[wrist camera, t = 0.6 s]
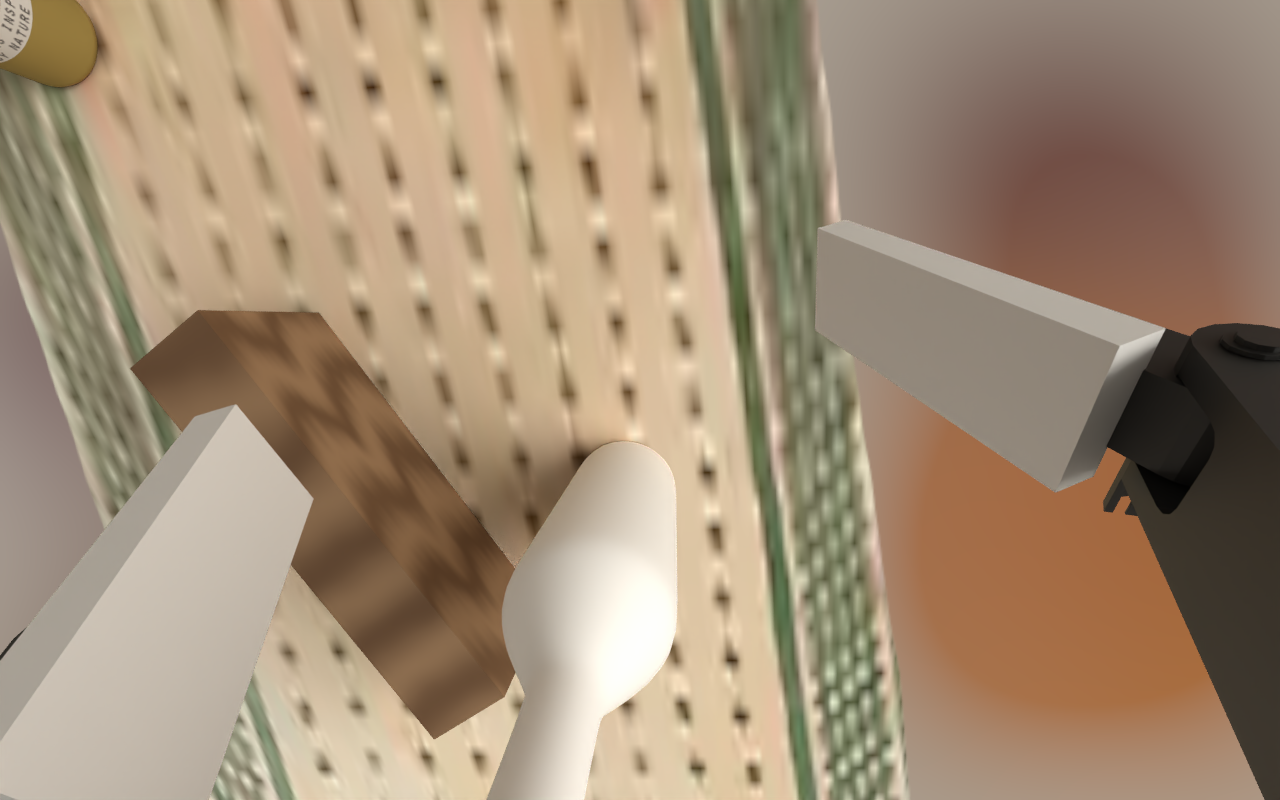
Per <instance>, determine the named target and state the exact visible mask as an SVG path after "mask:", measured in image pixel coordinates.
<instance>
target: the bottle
mask: <svg viewBox="0 0 1280 800" xmlns="http://www.w3.org/2000/svg"><path fill="white" fill-rule="evenodd" d="M676 619H677V531H676V487H675V481H674V477H673V474H672V471H671V469H670V468H669V466H668V464H667V463H666V461H665V460H664V459H663V458H662V457H661V456H660V455H659V454H658V453H657V452H655V451H654V450H652V449H651V448H649V447H647V446H645V445H643V444H640V443H636V442H630V441H619V442H612V443H609V444H606V445H603V446H601V447H600V448H598V449H596V450H595V451H593V452H592V453H591V454H590V455H589V456H588V457H587V458H586V459H585V461H584V462H583V463H582V465H581V466H580V468H579V469H578V471H577V472H576V474H575V475H574V477H573V478H572V480H571V481H570V483H569V485H568V486H567V488H566V489H565V491H564V492H563V494H562V496H561V497H560V499H559V500H558V502H557V503H556V505H555V506H554V508H553V510H552V511H551V513H550V514H549V516H548V517H547V519H546V521H545V522H544V524H543V525H542V527H541V528H540V530H539V531H538V533H537V535H536V536H535V538H534V539H533V541H532V542H531V544H530V546H529V547H528V549H527V550H526V552H525V553H524V555H523V556H522V558H521V560H520V561H519V563H518V565H517V567H516V568H515V570H514V572H513V574H512V576H511V579H510V581H509V583H508V585H507V588H506V592H505V596H504V601H503V606H502V629H503V635H504V640H505V644H506V648H507V651H508V655H509V657H510V660H511V662H512V665H513V667H514V670H515V672H516V674H517V677H518V679H519V681H520V684H521V686H522V688H523V691H524V693H525V697H524V700H523V703H522V706H521V709H520V712H519V715H518V718H517V721H516V723H515V726H514V729H513V731H512V734H511V737H510V740H509V742H508V745H507V748H506V750H505V753H504V755H503V758H502V761H501V763H500V766H499V768H498V771H497V774H496V776H495V779H494V781H493V784H492V787H491V789H490V792H489V794H488V797H487V800H584V798H585V793H586V787H587V782H588V777H589V772H590V767H591V762H592V757H593V752H594V747H595V743H596V738H597V733H598V729H599V725H600V722H601V719H602V717H604V716H605V715H606V714H608V713H609V712H611V711H612V710H614V709H615V708H617V707H618V706H620V705H621V704H623V703H624V702H626V701H627V700H628V699H630V698H631V697H632V696H634V695H635V694H636V693H637V692H639V691H640V690H641V689H642V688H643V687H645V686H646V685H647V684H648V683H649V682H650V681H651V679H652V678H653V677H654V676H655V675H656V673H657V672H658V671H659V670H660V669H661V667H662V666H663V664H664V662H665V660H666V658H667V657H668V655H669V653H670V649H671V646H672V642H673V639H674V635H675V631H676Z"/></svg>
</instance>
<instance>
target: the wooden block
mask: <svg viewBox="0 0 1280 800" xmlns="http://www.w3.org/2000/svg"><path fill="white" fill-rule="evenodd" d="M130 369H131V370H132V371H133V373H134V374H135V375H136V376H137V377H138V379H139V380H140V381H141V382H142V384H143V385H144V386H145V387H146V388H147V390H148V391H149V392H150V393H151V395H152V396H153V397H154V398H155V399H156V401H157V402H158V403H159V404H160V406H161V407H162V408H163V409H164V410H165V412H166V413H167V414H168V415H169V417H170V418H171V419H172V420H173V421H174V423H175V424H176V425H177V426H178V428H179V429H180V430H181V431H182V432H183V431H184V429H185V428H186V427H187V426H188V424H189V423H190V422H191V421H192V419H193V418H194V417H195V416H198V415H201V414H204V413H208V412H211V411H214V410H218V409H221V408H224V407H228V406H231V405H234V404H236V405H237V406H238V407H239V408H240V410H241V411H242V412H243V413H244V414H245V416H246V417H247V418H248V419H249V421H250V422H251V423H252V424H253V425H254V427H255V428H256V429H257V430H258V432H259V433H260V434H261V435H262V436H263V438H264V439H265V440H266V441H267V442H268V444H269V445H270V446H271V447H272V449H273V450H274V451H275V452H276V453H277V455H278V456H279V457H280V458H281V460H282V461H283V462H284V463H285V464H286V466H287V467H288V468H289V469H290V470H291V472H292V473H293V474H294V475H295V477H296V478H297V479H298V480H299V481H300V483H301V484H302V485H303V486H304V488H305V489H306V490H307V491H308V492H309V494H310V495H311V496H312V497H313V498H314V499H313V502H312V505H311V508H310V510H309V513H308V516H307V519H306V522H305V525H304V528H303V530H302V533H301V536H300V539H299V542H298V545H297V548H296V551H295V553H294V556H293V559H292V562H291V565H292V567H293V568H294V569H295V570H296V571H297V573H298V574H299V575H300V576H301V578H302V579H303V580H304V581H305V582H306V584H307V585H308V586H309V587H310V589H311V590H312V591H313V592H314V593H315V595H316V596H317V597H318V598H319V600H320V601H321V602H322V603H323V604H324V606H325V607H326V608H327V609H328V610H329V612H330V613H331V614H332V615H333V617H334V618H335V619H336V620H337V621H338V623H339V624H340V625H341V626H342V628H343V629H344V630H345V631H346V632H347V634H348V635H349V636H350V637H351V639H352V640H353V641H354V642H355V643H356V645H357V646H358V647H359V648H360V650H361V651H362V652H363V653H364V654H365V656H366V657H367V658H368V659H369V660H370V662H371V663H372V664H373V665H374V667H375V668H376V669H377V670H378V671H379V673H380V674H381V675H382V676H383V678H384V679H385V680H386V681H387V682H388V684H389V685H390V686H391V687H392V689H393V690H394V691H395V692H396V693H397V695H398V696H399V697H400V698H401V700H402V701H403V702H404V703H405V704H406V706H407V707H408V708H409V709H410V711H411V712H412V713H413V714H414V715H415V717H416V718H417V719H418V720H419V721H420V723H421V724H422V725H423V726H424V728H425V729H426V730H427V731H428V732H429V734H430V735H431V736H432V737H433V739H436V738H438V737H439V736H441V735H443V734H444V733H446V732H447V731H449V730H451V729H452V728H454V727H456V726H457V725H459V724H461V723H462V722H464V721H466V720H467V719H469V718H470V717H472V716H474V715H475V714H477V713H479V712H480V711H482V710H484V709H485V708H487V707H489V706H490V705H492V704H494V703H495V702H497V701H498V700H500V699H502V698H503V697H505V695H506V692H507V690H508V688H509V686H510V683H511V681H512V679H513V677H514V675H515V670H514V667H513V665H512V662H511V660H510V657H509V655H508V651H507V648H506V644H505V640H504V635H503V629H502V606H503V601H504V596H505V592H506V588H507V585H508V583H509V581H510V579H511V576H512V574H513V572H514V570H515V568H514V567H513V566H512V564H511V563H510V562H509V560H508V559H507V558H506V556H505V555H504V554H503V552H502V551H501V550H500V549H499V547H498V546H497V545H496V543H495V542H494V541H493V539H492V538H491V537H490V536H489V534H488V533H487V532H486V530H485V529H484V528H483V526H482V525H481V524H480V522H479V521H478V520H477V519H476V517H475V516H474V515H473V513H472V512H471V511H470V509H469V508H468V507H467V506H466V504H465V503H464V502H463V500H462V499H461V498H460V496H459V495H458V494H457V492H456V491H455V490H454V489H453V487H452V486H451V485H450V483H449V482H448V481H447V479H446V478H445V477H444V476H443V474H442V473H441V472H440V470H439V469H438V468H437V466H436V465H435V464H434V462H433V461H432V460H431V459H430V457H429V456H428V455H427V453H426V452H425V451H424V449H423V448H422V447H421V446H420V444H419V443H418V442H417V440H416V439H415V438H414V436H413V435H412V434H411V432H410V431H409V430H408V429H407V427H406V426H405V425H404V423H403V422H402V421H401V419H400V418H399V417H398V416H397V414H396V413H395V412H394V410H393V409H392V408H391V406H390V405H389V404H388V402H387V401H386V400H385V399H384V397H383V396H382V395H381V393H380V392H379V391H378V389H377V388H376V387H375V386H374V384H373V383H372V382H371V380H370V379H369V378H368V376H367V375H366V374H365V372H364V371H363V370H362V369H361V367H360V366H359V365H358V363H357V362H356V361H355V359H354V358H353V357H352V356H351V354H350V353H349V352H348V350H347V349H346V348H345V346H344V345H343V344H342V342H341V341H340V340H339V339H338V337H337V336H336V335H335V333H334V332H333V331H332V329H331V328H330V327H329V326H328V324H327V323H326V322H325V320H324V319H323V318H322V316H321V315H320V314H319V313H306V312H256V311H206V310H198V311H196V312H195V313H194V314H193V315H192V316H191V317H189V318H188V319H187V320H186V321H185V322H184V323H182V324H181V325H180V326H179V327H178V328H177V329H175V330H174V331H173V332H172V333H171V334H170V335H169V336H167V337H166V338H165V339H164V340H163V341H162V342H160V343H159V344H158V345H157V346H156V347H155V348H153V349H152V350H151V351H150V352H149V353H148V354H146V355H145V356H144V357H143V358H142V359H141V360H139V361H138V362H137V363H136V364H135V365H134V366H132V367H131V368H130Z"/></svg>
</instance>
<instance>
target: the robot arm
mask: <svg viewBox="0 0 1280 800" xmlns="http://www.w3.org/2000/svg"><path fill="white" fill-rule="evenodd" d="M815 330H816V331H817V332H819V333H820V334H822V335H823V336H825V337H826V338H828V339H829V340H831V341H832V342H833V343H835V344H836V345H838V346H839V347H841V348H842V349H844V350H845V351H847V352H848V353H850V354H851V355H853V356H854V357H856V358H857V359H859V360H860V361H862V362H863V363H865V364H866V365H868V366H869V367H871V368H872V369H873V370H875V371H876V372H878V373H879V374H881V375H882V376H884V377H885V378H887V379H888V380H890V381H891V382H893V383H894V384H896V385H897V386H899V387H900V388H902V389H903V390H905V391H906V392H908V393H909V394H911V395H912V396H913V397H915V398H916V399H918V400H919V401H921V402H922V403H924V404H926V405H927V406H928V407H930V408H931V409H933V410H934V411H936V412H937V413H939V414H940V415H942V416H943V417H944V418H946V419H947V420H949V421H950V422H952V423H953V424H955V425H956V426H958V427H959V428H961V429H962V430H964V431H965V432H967V433H968V434H970V435H971V436H973V437H974V438H976V439H977V440H979V441H980V442H982V443H983V444H984V445H986V446H987V447H989V448H990V449H992V450H993V451H995V452H996V453H998V454H999V455H1001V456H1002V457H1004V458H1005V459H1007V460H1008V461H1010V462H1011V463H1012V464H1014V465H1016V466H1017V467H1018V468H1020V469H1022V470H1023V471H1024V472H1026V473H1027V474H1029V475H1030V476H1032V477H1033V478H1035V479H1036V480H1038V481H1039V482H1041V483H1042V484H1044V485H1045V486H1047V487H1048V488H1049V489H1051V490H1052V491H1054V492H1058V491H1060V490H1063V489H1065V488H1067V487H1069V486H1072V485H1074V484H1077V483H1079V482H1081V481H1084V480H1086V479H1088V478H1091V477H1093V476H1094V474H1095V472H1096V470H1097V468H1098V466H1099V464H1100V462H1101V460H1102V458H1103V456H1104V454H1105V451H1106V449H1107V447H1108V448H1111V449H1112V450H1114V451H1116V452H1117V453H1119V454H1121V455H1123V456H1125V457H1126V459H1125V461H1124V463H1123V465H1122V467H1121V469H1120V471H1119V473H1118V474H1117V476H1116V478H1115V480H1114V482H1113V484H1112V486H1111V488H1110V490H1109V491H1108V493H1107V495H1106V497H1105V499H1104V501H1103V505H1104V511H1106V512H1113V511H1114V509H1115V507H1116V505H1117V504H1118V502H1119V500H1120V498H1121V497H1123V496H1129V498H1130V500H1131V502H1130V504H1129V506H1128V508H1127V510H1126V511H1125V514H1127V515H1134V516H1138V518H1139V520H1140V522H1141V524H1142V526H1143V529H1144V531H1145V533H1146V535H1147V538H1148V540H1149V542H1150V544H1151V546H1152V549H1153V551H1154V553H1155V555H1156V558H1157V560H1158V562H1159V564H1160V567H1161V569H1162V571H1163V573H1164V576H1165V578H1166V580H1167V582H1168V585H1169V587H1170V589H1171V591H1172V593H1173V596H1174V598H1175V600H1176V603H1177V605H1178V607H1179V609H1180V612H1181V614H1182V616H1183V618H1184V620H1185V623H1186V625H1187V627H1188V629H1189V631H1190V634H1191V636H1192V638H1193V640H1194V643H1195V645H1196V647H1197V650H1198V652H1199V654H1200V656H1201V658H1202V661H1203V663H1204V665H1205V667H1206V669H1207V672H1208V674H1209V676H1210V679H1211V681H1212V683H1213V685H1214V688H1215V690H1216V692H1217V694H1218V696H1219V699H1220V701H1221V703H1222V705H1223V708H1224V710H1225V712H1226V714H1227V717H1228V719H1229V721H1230V723H1231V726H1232V728H1233V730H1234V732H1235V735H1236V737H1237V739H1238V741H1239V743H1240V746H1241V748H1242V750H1243V752H1244V755H1245V757H1246V759H1247V761H1248V764H1249V766H1250V768H1251V770H1252V772H1253V775H1254V776H1255V779H1256V781H1257V784H1258V786H1259V788H1260V790H1261V793H1262V795H1263V797H1264V799H1265V800H1280V329H1279V328H1274V327H1268V326H1264V325H1252V324H1240V323H1232V324H1214V325H1211V326H1207V327H1203V328H1199V329H1197V330H1196V331H1195V332H1194V333H1193V334H1192V335H1191V336H1187V335H1184V334H1181V333H1178V332H1175V331H1172V330H1169V329H1166V328H1163V327H1160V326H1157V325H1154V324H1152V323H1149V322H1146V321H1142V320H1140V319H1137V318H1134V317H1131V316H1128V315H1125V314H1122V313H1119V312H1116V311H1113V310H1110V309H1107V308H1104V307H1101V306H1098V305H1095V304H1092V303H1089V302H1087V301H1083V300H1081V299H1078V298H1075V297H1072V296H1069V295H1066V294H1063V293H1060V292H1057V291H1054V290H1051V289H1048V288H1045V287H1042V286H1040V285H1037V284H1033V283H1030V282H1028V281H1024V280H1022V279H1018V278H1016V277H1013V276H1010V275H1007V274H1004V273H1001V272H998V271H995V270H992V269H989V268H986V267H983V266H980V265H977V264H975V263H971V262H969V261H965V260H963V259H960V258H957V257H954V256H951V255H948V254H945V253H942V252H939V251H936V250H933V249H930V248H927V247H924V246H921V245H918V244H916V243H913V242H910V241H907V240H904V239H901V238H898V237H895V236H892V235H889V234H886V233H883V232H880V231H877V230H874V229H871V228H868V227H865V226H863V225H859V224H857V223H853V222H851V221H848V220H844V221H840V222H837V223H834V224H831V225H827V226H824V227H821V228H818V240H817V278H816V316H815ZM313 499H314V498H313V497H312V496H311V495H310V494H309V492H308V491H307V490H306V489H305V488H304V486H303V485H302V484H301V483H300V481H299V480H298V479H297V478H296V477H295V475H294V474H293V473H292V472H291V470H290V469H289V468H288V467H287V466H286V464H285V463H284V462H283V461H282V460H281V458H280V457H279V456H278V455H277V453H276V452H275V451H274V450H273V449H272V447H271V446H270V445H269V444H268V442H267V441H266V440H265V439H264V438H263V436H262V435H261V434H260V433H259V432H258V430H257V429H256V428H255V427H254V425H253V424H252V423H251V422H250V421H249V419H248V418H247V417H246V416H245V414H244V413H243V412H242V411H241V410H240V408H239V407H238V406H237V405H236V404H234V405H231V406H228V407H224V408H221V409H218V410H214V411H211V412H208V413H204V414H201V415H198V416H195V417H194V418H193V419H192V421H191V422H190V423H189V424H188V426H187V427H186V428H185V429H184V431H183V432H182V433H181V434H180V436H179V437H178V438H177V439H176V441H175V442H174V443H173V444H172V446H171V447H170V448H169V449H168V451H167V452H166V453H165V454H164V456H163V457H162V458H161V459H160V461H159V462H158V463H157V465H156V466H155V467H154V468H153V470H152V471H151V472H150V473H149V475H148V476H147V477H146V478H145V480H144V481H143V482H142V483H141V485H140V486H139V487H138V488H137V490H136V491H135V492H134V493H133V495H132V496H131V497H130V498H129V500H128V501H127V502H126V503H125V505H124V506H123V507H122V508H121V510H120V511H119V512H118V513H117V515H116V516H115V517H114V518H113V520H112V521H111V522H110V524H109V525H108V526H107V527H106V529H105V530H104V531H103V532H102V534H101V535H100V536H99V537H98V539H97V540H96V541H95V543H94V544H93V545H92V546H91V547H90V549H89V550H88V551H87V552H86V554H85V555H84V556H83V557H82V559H81V560H80V561H79V562H78V564H77V565H76V566H75V567H74V569H73V570H72V571H71V573H70V574H69V575H68V576H67V578H66V579H65V580H64V581H63V583H62V584H61V585H60V586H59V588H58V589H57V590H56V591H55V593H54V594H53V595H52V596H51V598H50V599H49V600H48V601H47V603H46V604H45V605H44V606H43V608H42V609H41V610H40V611H39V613H38V614H37V615H36V616H35V618H34V619H33V620H32V622H31V623H30V624H29V625H28V626H27V627H26V628H25V629H24V630H23V631H22V632H21V633H20V634H18V635H17V636H16V637H15V638H14V639H13V640H12V641H11V643H10V644H9V645H8V646H7V648H6V649H5V650H4V652H3V653H2V654H1V655H0V800H209V798H210V795H211V792H212V789H213V786H214V783H215V780H216V778H217V775H218V772H219V769H220V766H221V763H222V760H223V757H224V755H225V752H226V749H227V746H228V743H229V740H230V737H231V734H232V732H233V729H234V726H235V723H236V720H237V717H238V714H239V711H240V709H241V706H242V703H243V700H244V697H245V694H246V691H247V689H248V686H249V683H250V680H251V677H252V674H253V671H254V668H255V666H256V663H257V660H258V657H259V654H260V651H261V648H262V645H263V643H264V640H265V637H266V634H267V631H268V628H269V625H270V622H271V620H272V617H273V614H274V611H275V608H276V605H277V602H278V599H279V597H280V594H281V591H282V588H283V585H284V582H285V579H286V576H287V574H288V571H289V568H290V565H291V562H292V559H293V556H294V553H295V551H296V548H297V545H298V542H299V539H300V536H301V533H302V530H303V528H304V525H305V522H306V519H307V516H308V513H309V510H310V508H311V505H312V502H313Z"/></svg>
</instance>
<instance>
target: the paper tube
mask: <svg viewBox="0 0 1280 800" xmlns="http://www.w3.org/2000/svg"><path fill="white" fill-rule="evenodd" d="M96 57H97V37H96V33H95V29H94V27H93V24H92V22H91V20H90V18H89V16H88V15H87V13H86V12H85V11H84V10H83V8H82V7H81V6H80V4H79V3H78V2H77V1H76V0H0V68H1V69H4V70H7V71H9V72H12V73H15V74H17V75H20V76H23V77H26V78H28V79H31V80H34V81H36V82H39V83H42V84H45V85H48V86H53V87H66V86H72V85H75V84H77V83H79V82H81V81H83V80H84V79H85V78H86V77H87V76H88V75H89V74H90V72H91V71H92V69H93V67H94V64H95V61H96Z"/></svg>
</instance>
